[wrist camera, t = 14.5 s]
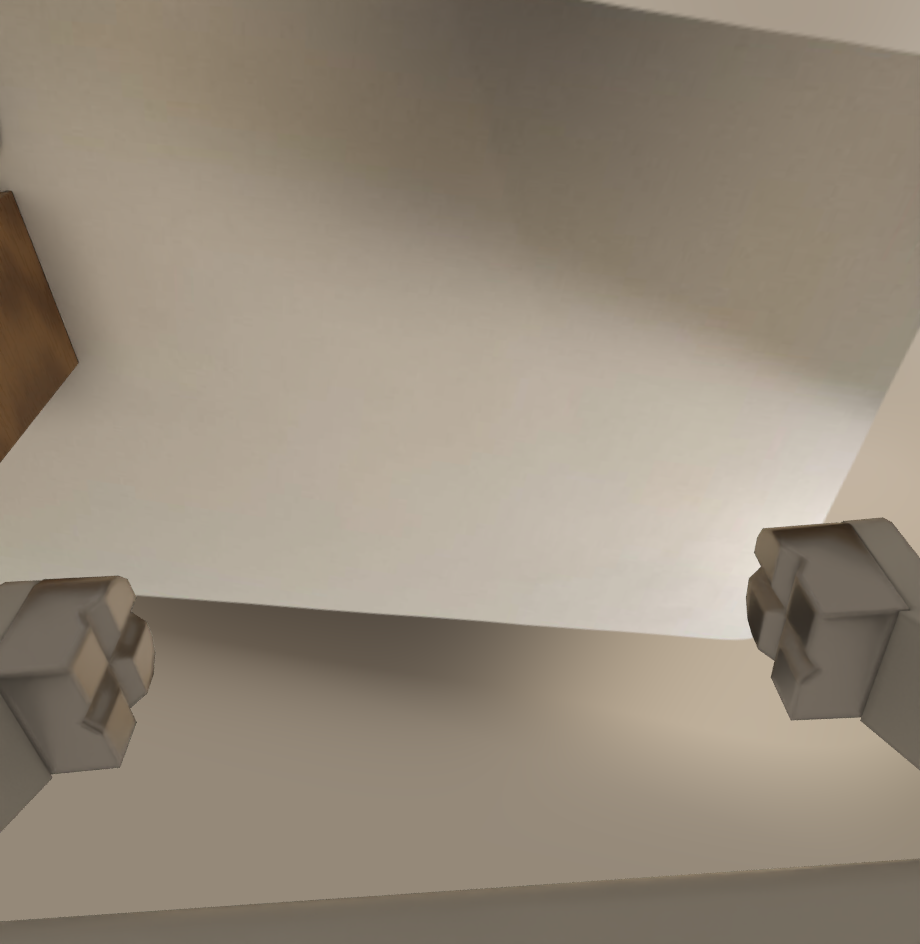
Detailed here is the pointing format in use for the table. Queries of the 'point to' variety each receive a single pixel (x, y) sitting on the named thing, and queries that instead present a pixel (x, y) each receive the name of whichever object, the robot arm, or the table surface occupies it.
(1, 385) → the oak stand
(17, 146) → the table surface
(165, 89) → the table surface
